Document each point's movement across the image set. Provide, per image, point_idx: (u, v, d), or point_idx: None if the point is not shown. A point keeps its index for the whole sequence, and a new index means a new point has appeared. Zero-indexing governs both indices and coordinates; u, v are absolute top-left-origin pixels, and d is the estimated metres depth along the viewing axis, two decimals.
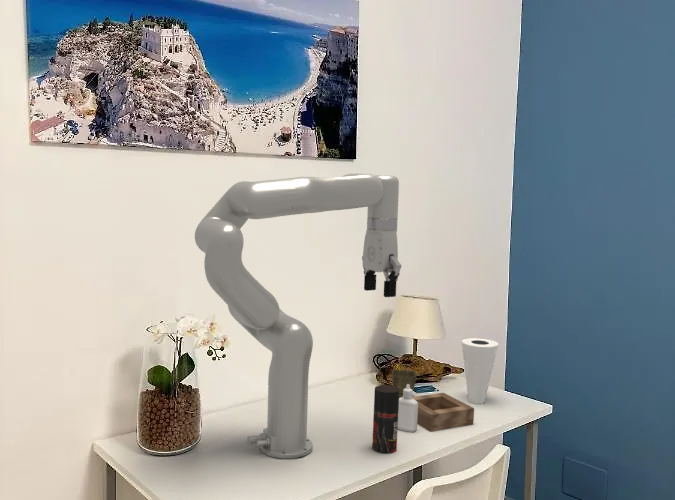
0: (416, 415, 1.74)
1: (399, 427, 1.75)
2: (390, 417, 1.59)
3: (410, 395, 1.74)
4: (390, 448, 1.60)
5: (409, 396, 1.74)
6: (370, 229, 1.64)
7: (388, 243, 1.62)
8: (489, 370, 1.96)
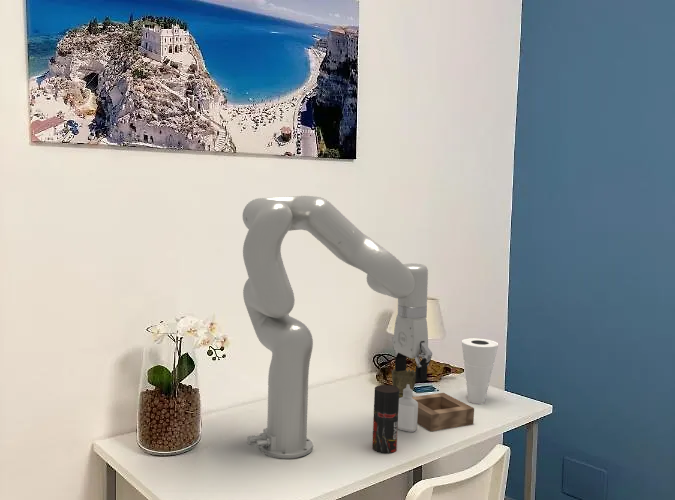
0: (416, 415, 1.74)
1: (399, 427, 1.75)
2: (390, 417, 1.59)
3: (410, 395, 1.74)
4: (390, 448, 1.60)
5: (409, 396, 1.74)
6: (401, 317, 1.71)
7: (419, 331, 1.69)
8: (489, 370, 1.96)
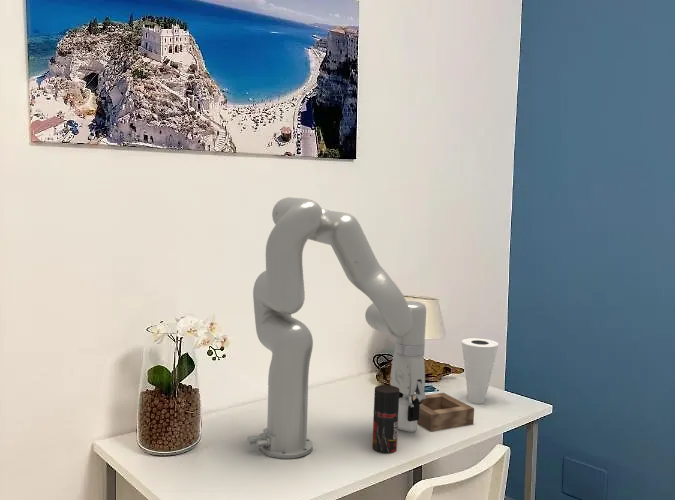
0: None
1: (399, 427, 1.75)
2: (390, 417, 1.59)
3: None
4: (390, 448, 1.60)
5: None
6: (399, 354, 1.72)
7: (416, 369, 1.70)
8: (489, 370, 1.96)
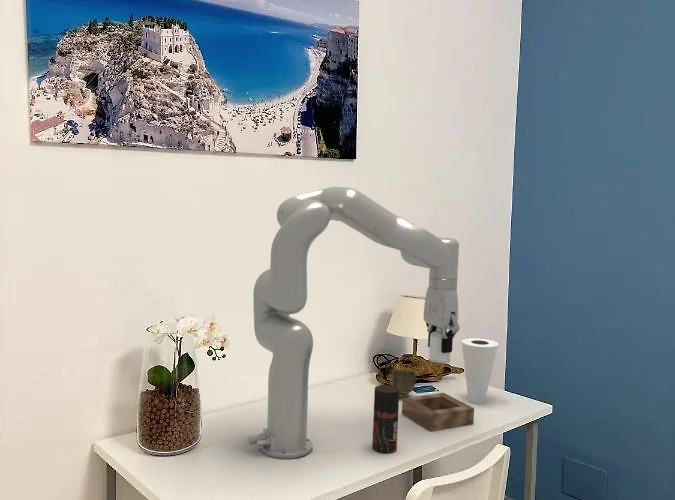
0: None
1: (433, 359, 1.81)
2: (390, 417, 1.59)
3: None
4: (390, 448, 1.60)
5: None
6: (432, 288, 1.78)
7: (450, 302, 1.76)
8: (489, 370, 1.96)
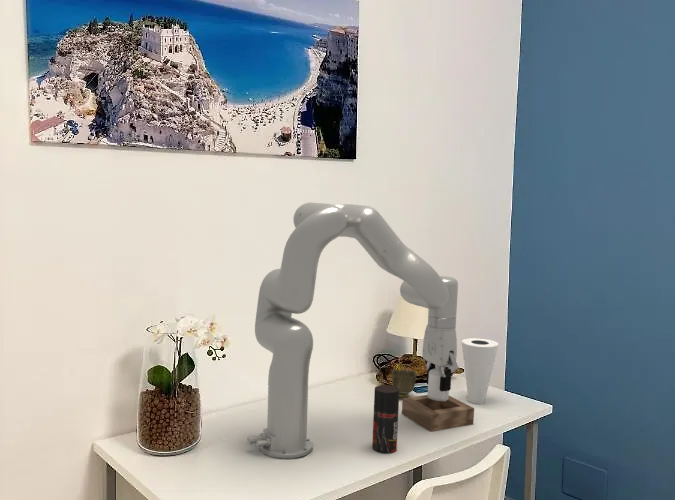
0: None
1: (431, 397, 1.83)
2: (390, 417, 1.59)
3: None
4: (390, 448, 1.60)
5: None
6: (431, 327, 1.79)
7: (449, 341, 1.77)
8: (489, 370, 1.96)
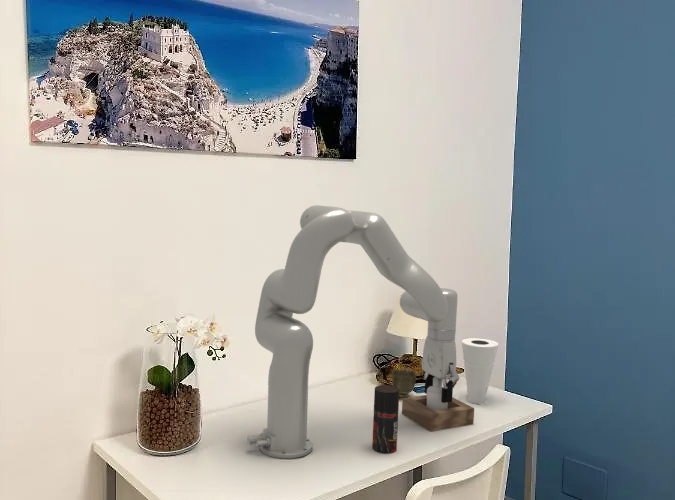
0: (446, 402, 1.82)
1: None
2: (390, 417, 1.59)
3: (440, 383, 1.82)
4: (390, 448, 1.60)
5: (439, 384, 1.82)
6: (431, 339, 1.80)
7: (448, 353, 1.77)
8: (489, 370, 1.96)
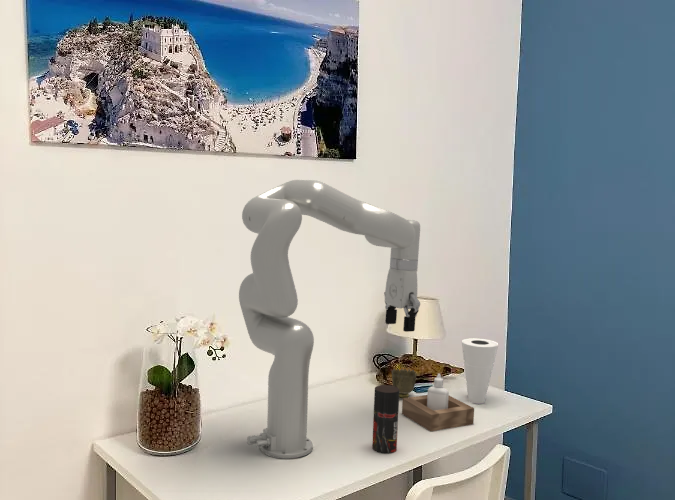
0: (447, 403, 1.82)
1: None
2: (390, 417, 1.59)
3: (441, 384, 1.82)
4: (390, 448, 1.60)
5: (440, 385, 1.82)
6: (393, 268, 1.79)
7: (409, 282, 1.77)
8: (489, 370, 1.96)
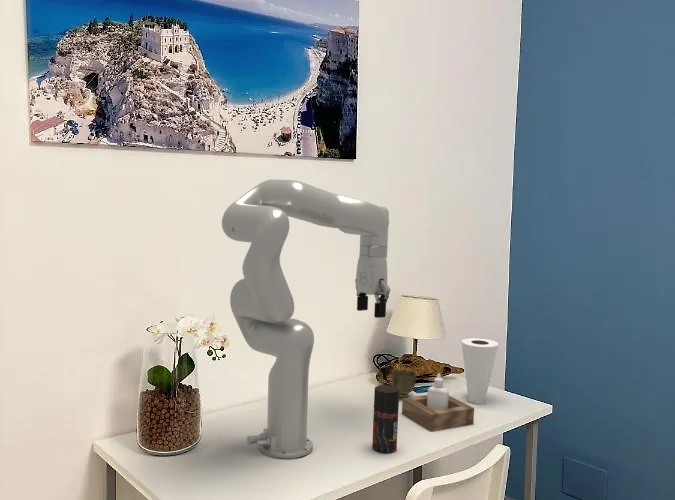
0: (447, 403, 1.82)
1: None
2: (390, 417, 1.59)
3: (441, 384, 1.82)
4: (390, 448, 1.60)
5: (440, 385, 1.82)
6: (362, 255, 1.80)
7: (378, 268, 1.78)
8: (489, 370, 1.96)
